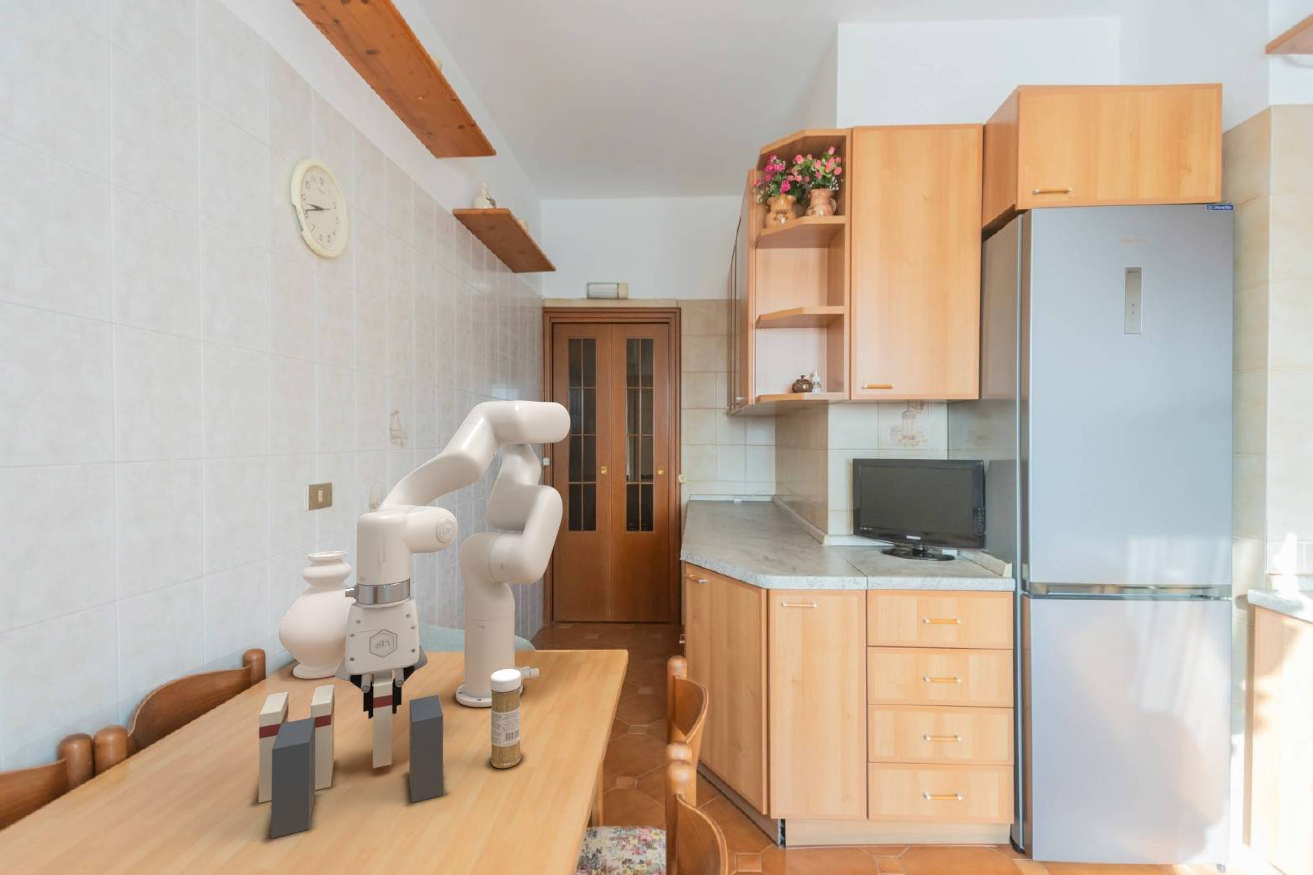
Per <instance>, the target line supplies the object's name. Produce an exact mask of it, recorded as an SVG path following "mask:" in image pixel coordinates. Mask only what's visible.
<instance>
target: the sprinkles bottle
mask: <svg viewBox="0 0 1313 875" xmlns="http://www.w3.org/2000/svg"><path fill="white" fill-rule="evenodd" d="M520 685H521V673H520V672H519V671H518V670H515V669H504V670H499V671H497V672H495V673H493V674H492V675H491V678H490V688H491V691H492V706H490V724H491V725H490V737H491V738H490V741H491V742H490V743H491V758H490V763H491V765H492V766H493V767H495V768H497V769H508V768H511V767H514V766H516V765H517V764H518V763H519V762H520V761H521V759H522V754H521V694H520Z"/></svg>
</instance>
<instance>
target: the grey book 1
mask: <svg viewBox="0 0 1313 875" xmlns="http://www.w3.org/2000/svg"><path fill="white" fill-rule="evenodd" d="M315 797H316V790H315V717H313V718H311V717H308V718H301V719H298V720H292V721H288V722H285V723H281V726H280V729H279V731H278V734H277V737H276V740H275V743H274V746H273V748H272V800H271V809H270V810H271V812H270V813H271V816H270V817H271V818H270V819H271V821H270V822H271V823H270V838H271V839H272V840H273V839H277V838H280V837H285V836H288V835H292V834H295V833H299V832H304V831H307V830H309V829H310V824H311V820H312V814H313V807H314V803H315Z"/></svg>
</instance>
